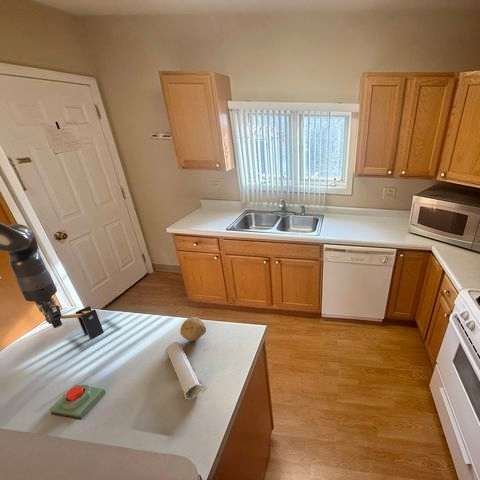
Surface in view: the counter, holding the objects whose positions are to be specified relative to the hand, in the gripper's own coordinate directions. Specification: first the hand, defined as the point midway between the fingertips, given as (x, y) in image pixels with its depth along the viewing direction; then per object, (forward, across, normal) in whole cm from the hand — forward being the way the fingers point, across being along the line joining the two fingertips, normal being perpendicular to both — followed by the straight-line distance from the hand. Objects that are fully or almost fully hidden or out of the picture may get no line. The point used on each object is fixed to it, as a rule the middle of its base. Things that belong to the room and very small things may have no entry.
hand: (55, 324), depth 90 cm
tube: (+13, +44, +15) cm, 49 cm away
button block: (+13, +27, -8) cm, 31 cm away
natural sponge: (+13, +34, +28) cm, 46 cm away
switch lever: (+1, 0, +3) cm, 4 cm away
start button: (+10, +27, -7) cm, 30 cm away
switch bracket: (+13, 0, +9) cm, 16 cm away
